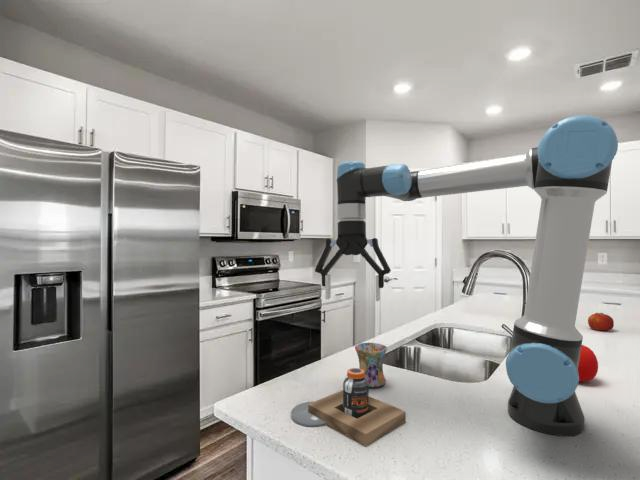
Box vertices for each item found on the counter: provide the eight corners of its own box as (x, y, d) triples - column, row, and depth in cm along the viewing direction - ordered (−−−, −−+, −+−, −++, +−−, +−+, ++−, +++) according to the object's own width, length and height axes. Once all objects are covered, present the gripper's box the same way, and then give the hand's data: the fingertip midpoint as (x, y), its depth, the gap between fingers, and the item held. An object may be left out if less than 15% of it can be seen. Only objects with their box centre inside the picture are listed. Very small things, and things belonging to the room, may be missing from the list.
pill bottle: (351, 427, 80) (351, 377, 80) (338, 416, 85) (338, 368, 85) (373, 421, 83) (373, 372, 83) (359, 410, 88) (359, 364, 88)
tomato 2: (582, 328, 167) (582, 310, 167) (600, 327, 168) (600, 310, 168) (600, 333, 158) (600, 315, 158) (619, 332, 159) (619, 314, 159)
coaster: (346, 415, 86) (346, 412, 86) (311, 432, 78) (311, 429, 78) (315, 400, 94) (315, 397, 94) (281, 414, 86) (281, 411, 86)
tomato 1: (600, 379, 107) (600, 342, 107) (596, 390, 99) (595, 350, 99) (558, 370, 114) (558, 336, 114) (551, 380, 106) (551, 343, 106)
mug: (393, 386, 102) (393, 349, 102) (365, 392, 98) (364, 353, 98) (371, 372, 113) (371, 338, 113) (345, 377, 110) (345, 342, 109)
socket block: (405, 422, 82) (405, 411, 82) (365, 446, 73) (365, 434, 73) (348, 397, 95) (348, 387, 95) (308, 414, 86) (308, 404, 86)
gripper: (399, 220, 97) (400, 298, 97) (311, 222, 104) (312, 295, 104) (397, 218, 89) (398, 303, 89) (303, 221, 96) (304, 300, 96)
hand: (352, 299), depth 97 cm, fingers open, 13 cm apart
